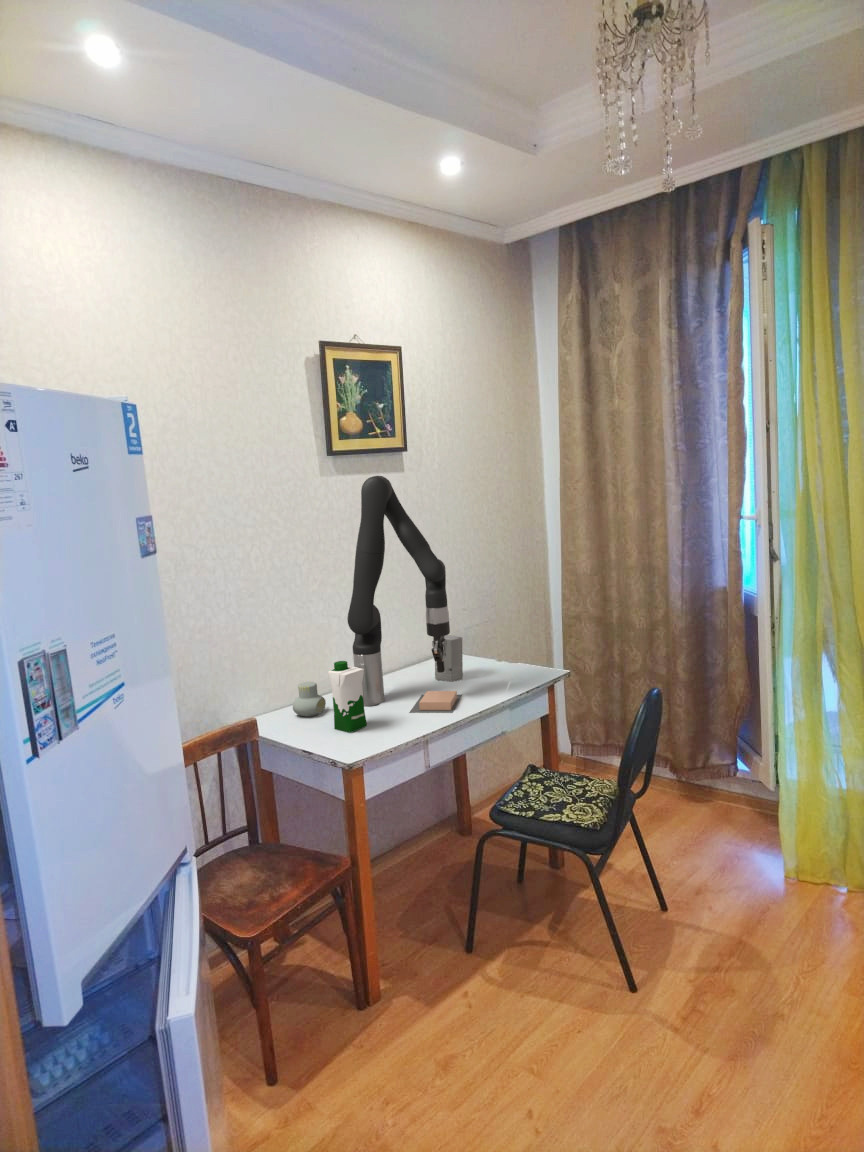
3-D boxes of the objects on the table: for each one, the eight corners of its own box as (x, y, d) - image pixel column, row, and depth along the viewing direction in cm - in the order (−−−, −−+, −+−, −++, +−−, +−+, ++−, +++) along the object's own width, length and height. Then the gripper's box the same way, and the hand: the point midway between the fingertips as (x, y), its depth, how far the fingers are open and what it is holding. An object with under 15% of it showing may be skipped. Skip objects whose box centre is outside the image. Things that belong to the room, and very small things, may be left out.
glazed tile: (427, 699, 251) (419, 710, 240) (427, 691, 251) (419, 702, 239) (457, 698, 249) (450, 710, 238) (456, 691, 249) (450, 702, 237)
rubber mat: (409, 713, 238) (409, 712, 238) (422, 695, 257) (422, 694, 257) (452, 714, 235) (452, 712, 235) (462, 695, 254) (462, 694, 254)
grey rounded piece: (314, 719, 239) (311, 689, 238) (290, 719, 241) (287, 688, 240) (328, 708, 249) (326, 679, 248) (305, 708, 252) (303, 679, 250)
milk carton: (351, 721, 235) (346, 658, 232) (371, 726, 229) (366, 661, 227) (329, 729, 229) (324, 665, 226) (350, 734, 223) (345, 668, 220)
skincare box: (434, 680, 275) (432, 637, 273) (447, 675, 280) (444, 633, 278) (452, 683, 269) (450, 639, 267) (465, 678, 275) (462, 635, 273)
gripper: (430, 616, 254) (434, 666, 257) (421, 624, 241) (425, 677, 244) (452, 615, 253) (456, 666, 255) (444, 624, 240) (448, 677, 242)
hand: (441, 671), depth 249 cm, fingers closed
